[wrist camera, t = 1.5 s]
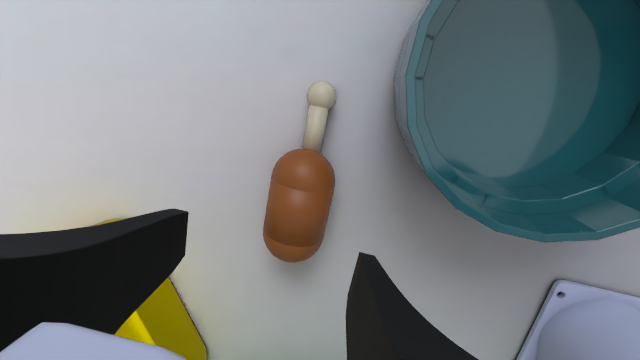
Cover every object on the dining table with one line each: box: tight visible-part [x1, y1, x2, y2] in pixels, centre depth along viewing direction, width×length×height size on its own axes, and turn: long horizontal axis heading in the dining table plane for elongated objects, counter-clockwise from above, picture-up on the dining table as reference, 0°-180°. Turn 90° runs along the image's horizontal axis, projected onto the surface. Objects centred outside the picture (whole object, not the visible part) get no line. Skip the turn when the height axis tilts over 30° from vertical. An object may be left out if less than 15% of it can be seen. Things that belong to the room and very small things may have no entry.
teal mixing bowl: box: [394, 0, 640, 242], centre depth 16 cm, size 15×15×6 cm
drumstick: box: [263, 81, 336, 262], centre depth 20 cm, size 12×4×4 cm, turn 169°
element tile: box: [93, 219, 207, 360], centre depth 25 cm, size 15×15×5 cm
